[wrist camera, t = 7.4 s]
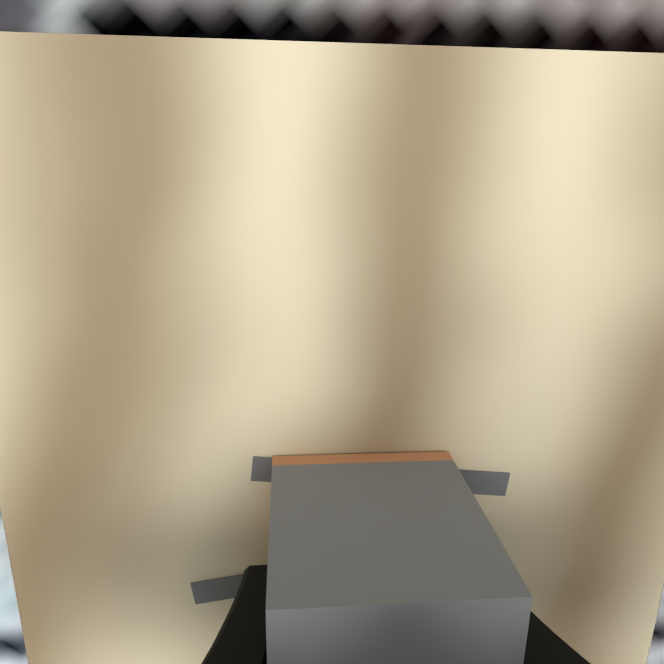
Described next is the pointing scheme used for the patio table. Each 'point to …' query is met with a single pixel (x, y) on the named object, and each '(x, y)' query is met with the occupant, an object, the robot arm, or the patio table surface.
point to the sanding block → (387, 565)
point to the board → (323, 316)
